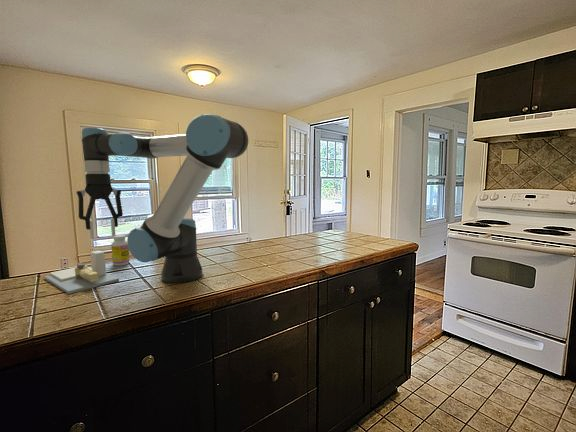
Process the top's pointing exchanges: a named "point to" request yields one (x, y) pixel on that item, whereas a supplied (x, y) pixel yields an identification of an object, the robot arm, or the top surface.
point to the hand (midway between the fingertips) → (103, 236)
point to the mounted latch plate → (76, 283)
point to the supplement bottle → (120, 250)
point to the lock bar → (86, 274)
